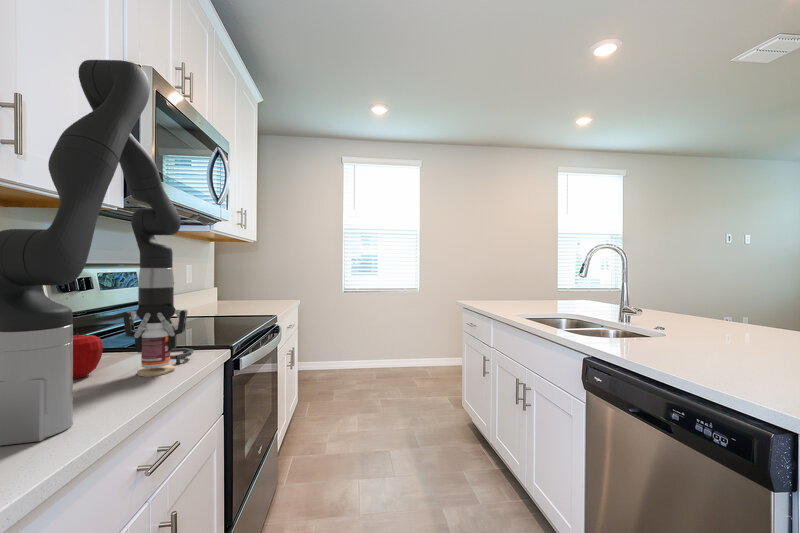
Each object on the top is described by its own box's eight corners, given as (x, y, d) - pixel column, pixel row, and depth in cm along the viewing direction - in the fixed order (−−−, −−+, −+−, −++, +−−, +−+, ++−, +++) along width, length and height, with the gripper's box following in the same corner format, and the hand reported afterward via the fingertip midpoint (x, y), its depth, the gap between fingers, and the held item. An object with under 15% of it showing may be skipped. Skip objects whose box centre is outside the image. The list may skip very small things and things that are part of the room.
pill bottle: (170, 366, 93) (170, 322, 93) (141, 370, 90) (141, 325, 90) (170, 361, 99) (170, 319, 99) (141, 364, 95) (141, 321, 95)
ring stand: (188, 363, 102) (188, 355, 102) (147, 366, 99) (147, 357, 99) (195, 355, 111) (195, 347, 111) (158, 357, 108) (158, 349, 108)
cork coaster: (169, 374, 92) (169, 372, 92) (132, 377, 89) (132, 375, 89) (178, 366, 99) (178, 364, 99) (143, 368, 97) (143, 366, 97)
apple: (113, 371, 94) (113, 329, 94) (74, 383, 85) (74, 336, 85) (80, 370, 96) (80, 328, 96) (38, 381, 86) (38, 335, 86)
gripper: (116, 287, 88) (116, 356, 89) (184, 286, 93) (184, 352, 93) (129, 285, 96) (128, 349, 96) (191, 284, 100) (191, 346, 100)
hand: (156, 350), depth 94 cm, fingers closed on pill bottle, 6 cm apart
